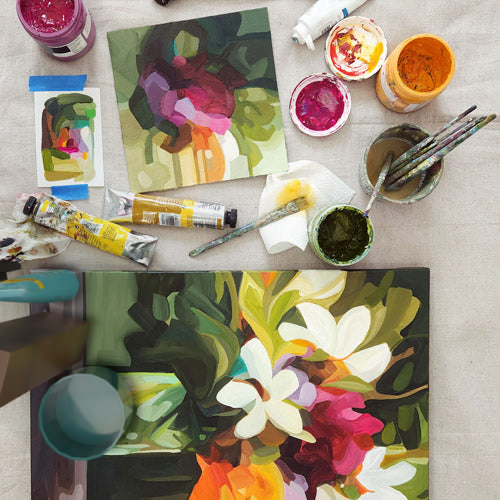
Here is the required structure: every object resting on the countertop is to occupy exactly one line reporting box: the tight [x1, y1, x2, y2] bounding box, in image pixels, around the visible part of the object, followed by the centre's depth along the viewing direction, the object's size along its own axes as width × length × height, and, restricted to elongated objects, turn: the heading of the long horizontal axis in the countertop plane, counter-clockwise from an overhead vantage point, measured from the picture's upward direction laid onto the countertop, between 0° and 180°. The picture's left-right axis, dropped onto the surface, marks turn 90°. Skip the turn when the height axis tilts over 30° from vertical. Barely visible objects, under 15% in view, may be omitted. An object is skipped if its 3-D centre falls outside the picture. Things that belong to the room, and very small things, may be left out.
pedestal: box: [0, 310, 91, 409], centre depth 58 cm, size 7×6×23 cm
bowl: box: [37, 365, 135, 462], centre depth 66 cm, size 12×12×5 cm
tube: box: [0, 268, 80, 304], centre depth 60 cm, size 7×5×19 cm, turn 100°
